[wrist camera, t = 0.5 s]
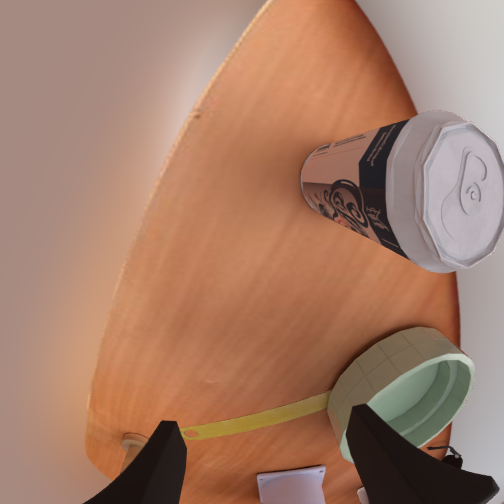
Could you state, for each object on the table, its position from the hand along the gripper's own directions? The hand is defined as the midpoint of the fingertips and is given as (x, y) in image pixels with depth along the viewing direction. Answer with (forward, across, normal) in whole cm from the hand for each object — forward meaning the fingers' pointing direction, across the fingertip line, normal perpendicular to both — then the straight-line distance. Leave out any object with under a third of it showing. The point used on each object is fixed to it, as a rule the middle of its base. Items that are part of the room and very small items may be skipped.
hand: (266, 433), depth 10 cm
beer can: (+10, -6, -9) cm, 15 cm away
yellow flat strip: (+10, -2, +11) cm, 15 cm away
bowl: (+10, -12, +9) cm, 18 cm away
